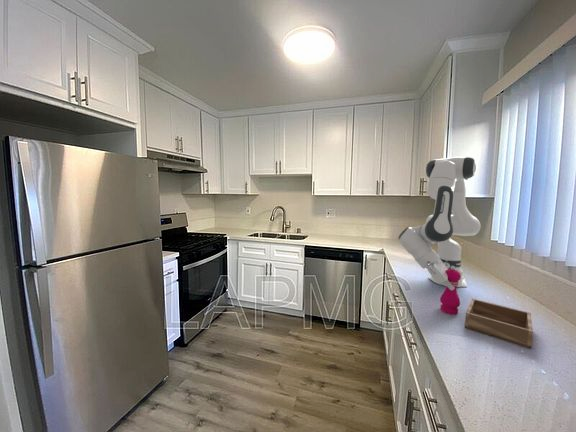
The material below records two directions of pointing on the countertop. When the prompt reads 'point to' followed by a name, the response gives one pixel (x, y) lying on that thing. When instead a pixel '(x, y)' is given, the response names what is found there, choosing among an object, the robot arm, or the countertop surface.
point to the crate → (500, 322)
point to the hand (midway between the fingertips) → (453, 285)
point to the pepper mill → (451, 293)
